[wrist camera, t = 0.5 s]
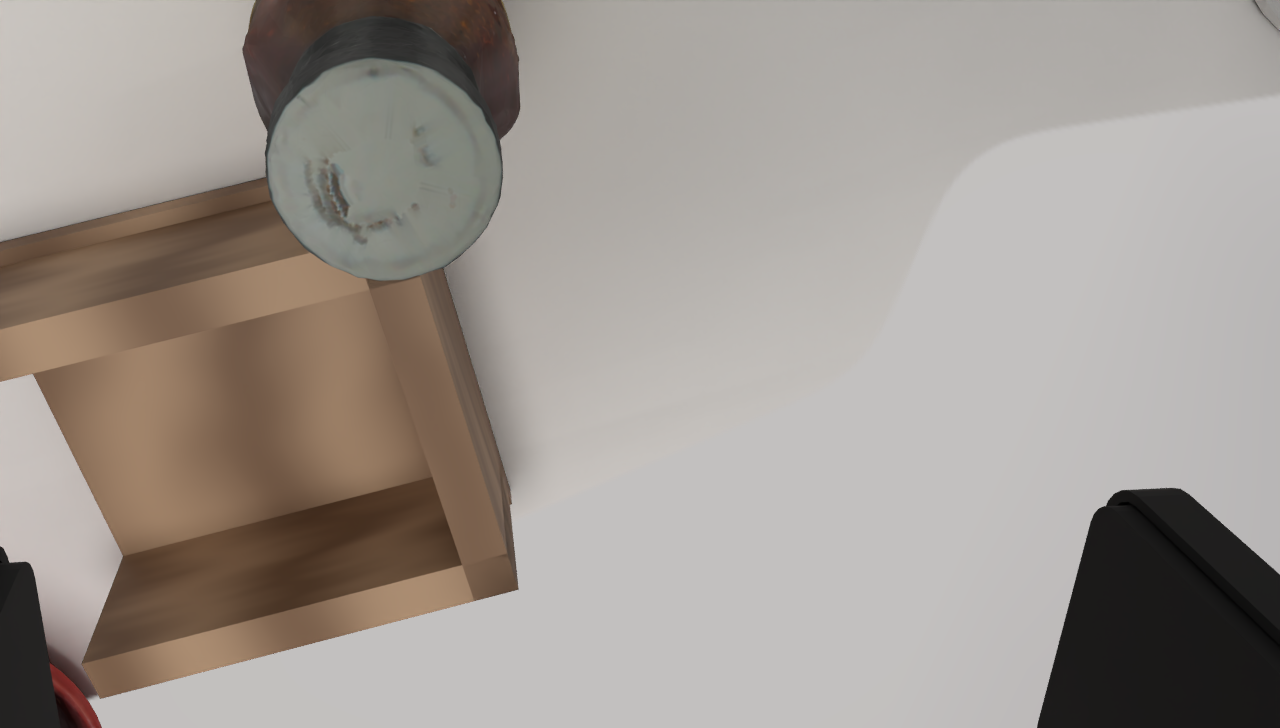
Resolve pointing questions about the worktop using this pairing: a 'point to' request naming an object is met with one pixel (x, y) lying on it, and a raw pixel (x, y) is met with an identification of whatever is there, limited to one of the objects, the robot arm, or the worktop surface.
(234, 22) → the worktop surface
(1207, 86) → the worktop surface
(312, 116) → the sauce bottle
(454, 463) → the u rest
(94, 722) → the plant pot
